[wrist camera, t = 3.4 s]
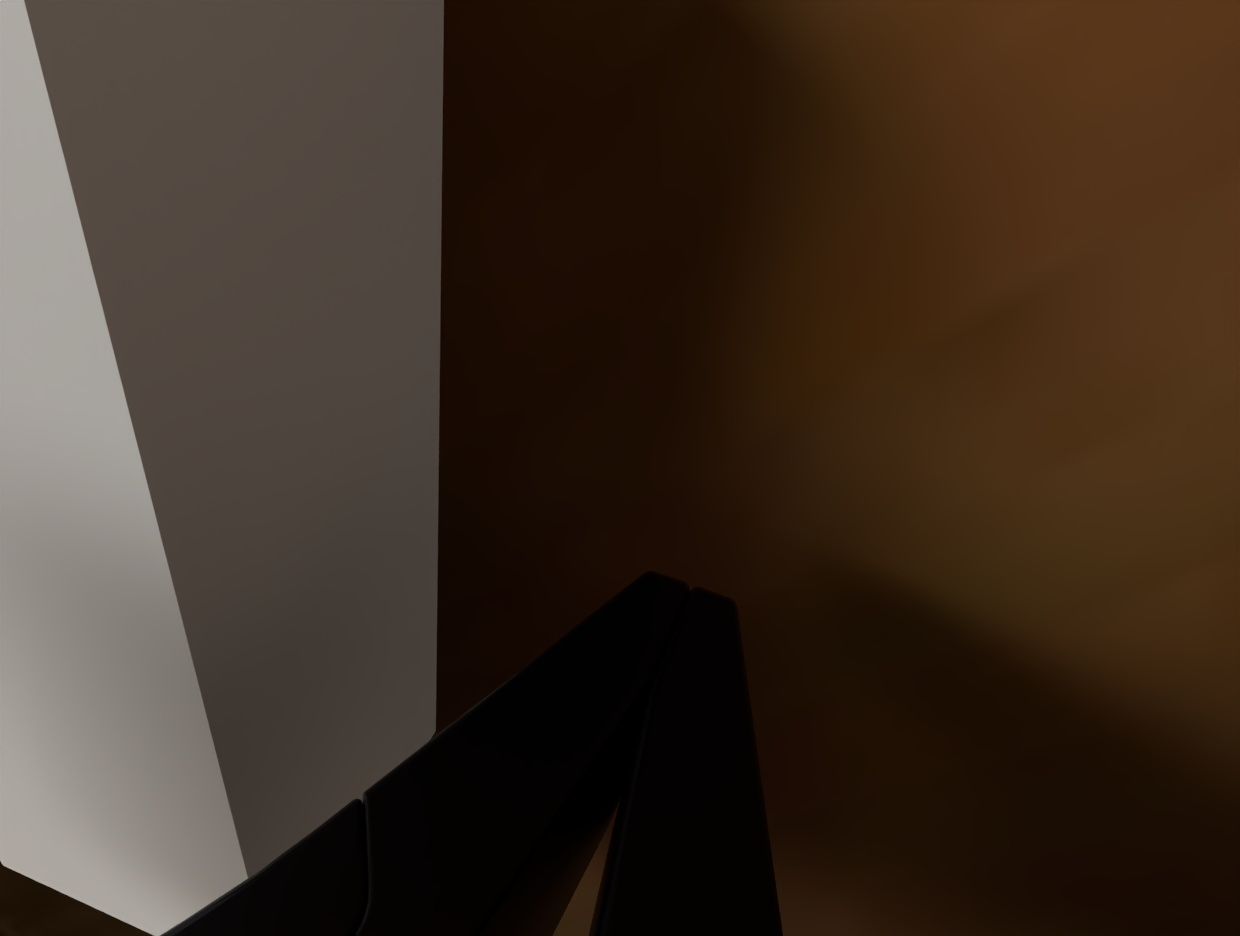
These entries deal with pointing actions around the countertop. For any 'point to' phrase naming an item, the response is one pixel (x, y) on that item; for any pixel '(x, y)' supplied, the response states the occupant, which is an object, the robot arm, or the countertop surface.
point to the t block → (213, 431)
